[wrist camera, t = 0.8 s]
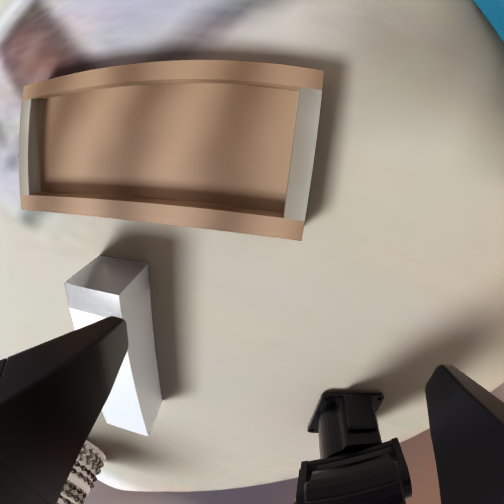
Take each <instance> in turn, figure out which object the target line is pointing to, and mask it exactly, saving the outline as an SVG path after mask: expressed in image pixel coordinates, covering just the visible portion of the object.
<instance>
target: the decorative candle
mask: <svg viewBox="0 0 504 504" xmlns="http://www.w3.org/2000/svg"><path fill="white" fill-rule="evenodd" d="M105 460H106V456H105V455H104V453H103V452H102V451H101V450H100V449H99V448H97V447H96V446H95V445H93V444H92V443H90V442H89V441H87V440H86V441H85V443H84V445H83V447H82V449H81V452H80V454H79V456H78V458H77V460H76V462H75V464H74V466H73V468H72V470H71V472H70V475H69V477H68V479H67V481H66V483H65V485H64V488H63V490H62V492H61V494H60V497H59V499H58V501H57V503H56V504H83V503H84V500H85V497H86V496H88V494H89V492H90V488H93V487H94V485H93V483H92V482H95V481H96V480H97V478H96V476H95V475H98V474H100V472H101V470H100V468H102V467H103V466H104V464H103V462H104V461H105Z"/></svg>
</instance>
